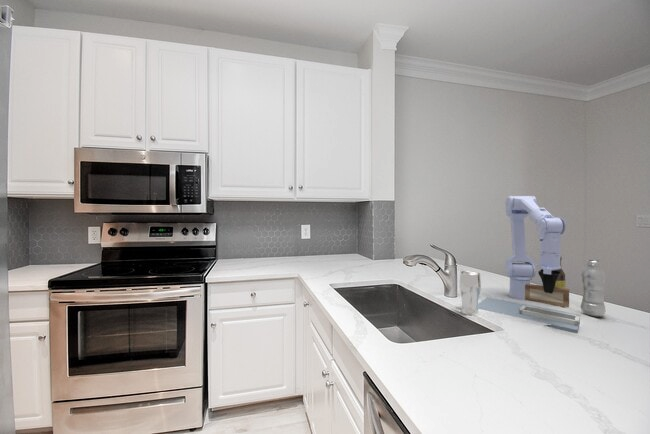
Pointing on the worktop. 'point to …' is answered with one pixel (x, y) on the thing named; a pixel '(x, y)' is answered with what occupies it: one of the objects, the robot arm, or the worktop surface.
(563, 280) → the brown medicine bottle
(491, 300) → the wall board
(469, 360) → the worktop surface
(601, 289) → the plastic bottle
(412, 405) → the worktop surface
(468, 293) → the beer glass
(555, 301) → the wooden block
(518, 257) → the robot arm
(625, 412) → the worktop surface
